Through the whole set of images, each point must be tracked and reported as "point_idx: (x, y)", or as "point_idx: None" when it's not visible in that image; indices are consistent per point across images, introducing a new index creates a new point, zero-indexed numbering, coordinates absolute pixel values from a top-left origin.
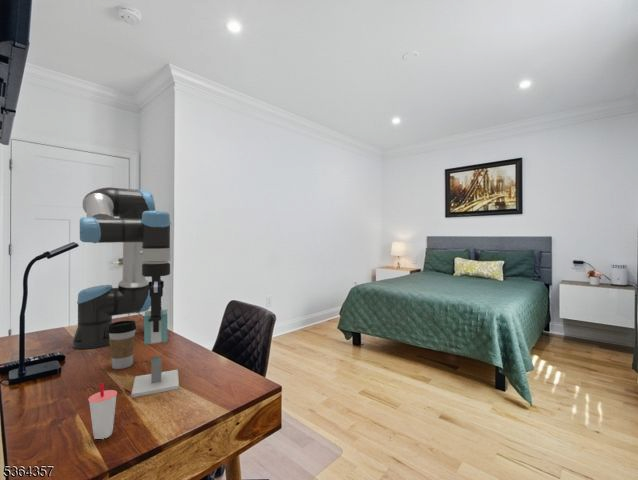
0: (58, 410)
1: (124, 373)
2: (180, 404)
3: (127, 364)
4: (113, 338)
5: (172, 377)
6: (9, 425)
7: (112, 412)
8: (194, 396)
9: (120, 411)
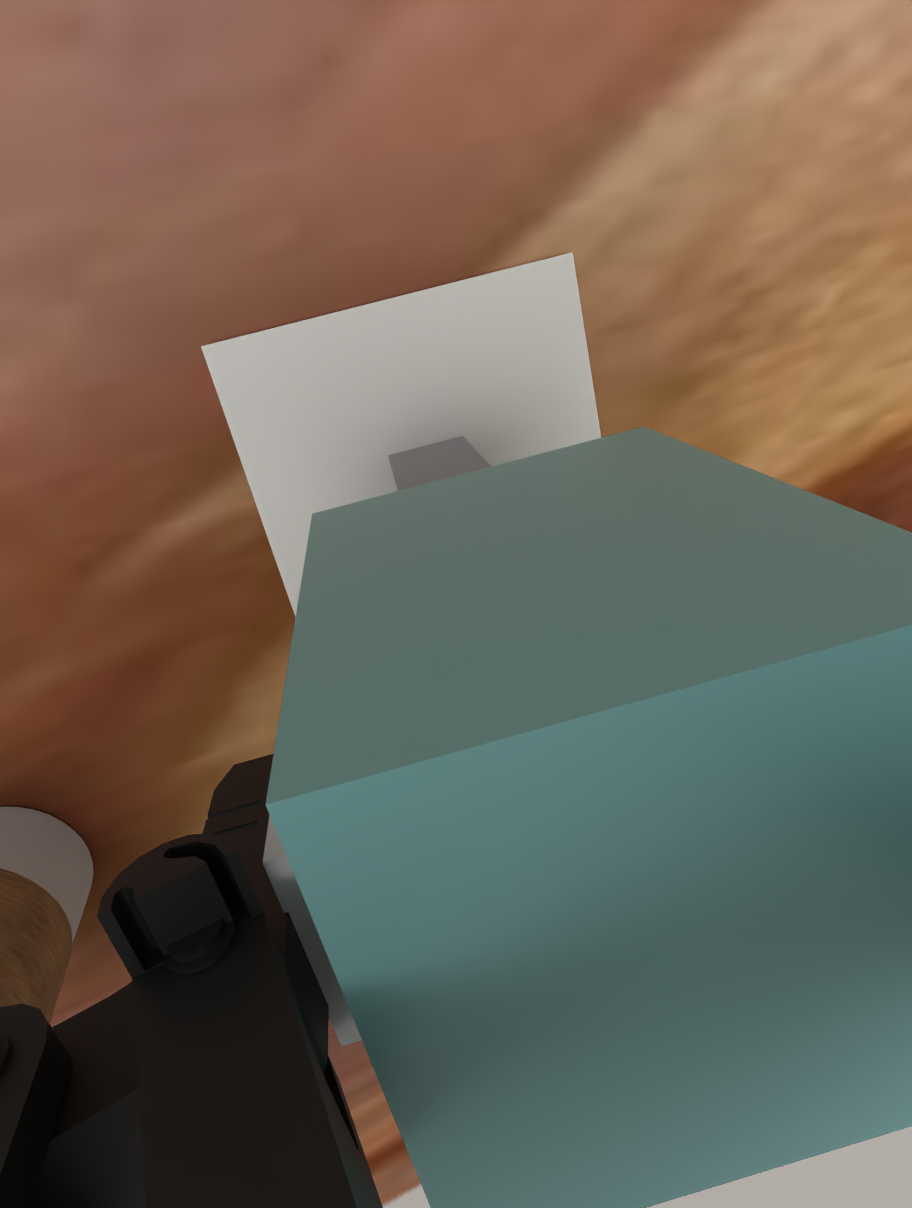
0: None
1: (184, 788)
2: (833, 181)
3: (49, 831)
4: None
5: (392, 354)
6: None
7: None
8: (744, 72)
9: None
